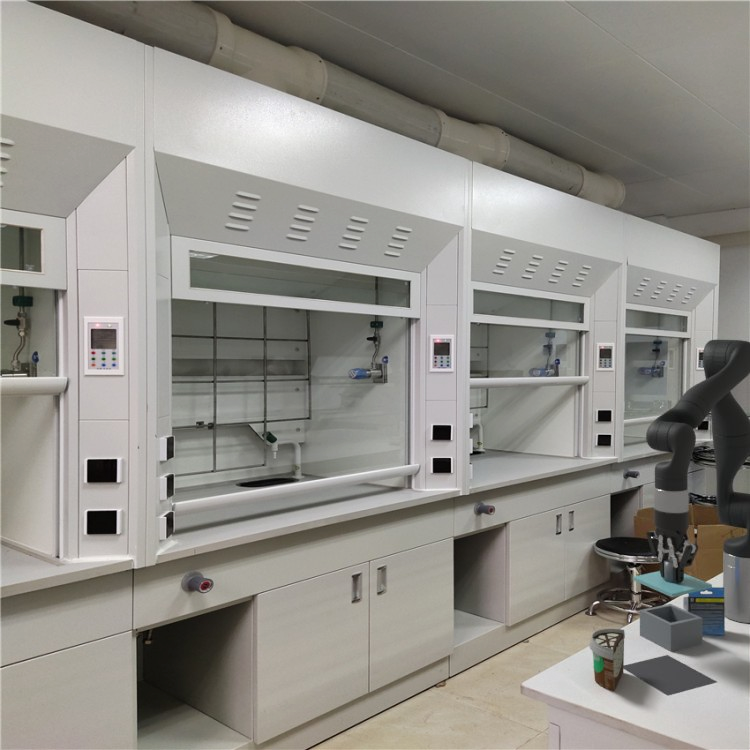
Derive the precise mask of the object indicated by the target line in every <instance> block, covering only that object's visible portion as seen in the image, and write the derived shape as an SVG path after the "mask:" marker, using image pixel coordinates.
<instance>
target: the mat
mask: <svg viewBox="0 0 750 750" xmlns="http://www.w3.org/2000/svg"><path fill="white" fill-rule="evenodd" d="M623 670H625V671H627V672H628V673H629V674H631V675H633V676H635V677H636V678H638V679H640V680H641V681H643V682H644V683H646V684H648V685H649V686H651V687H653V688H654V689H656V690H657V691H660V692H661V693H662V694H664V695H666V696H670V695H671V696H672V695H675V694H680V693H682V692H685V691H690V690H693V689H698V688H701V687H704V686H709V685H712V684H715V683H718V681H717V680H715V679H713V678H711V677H709V676H707V675H705V673H702V672H700V671H698V670H696V669H694V668H692V667H691V666H689V665H687V664H685V663H683V662H682V661H680V660H679V659H678V660H677V659H676V658H674V657H672V656H670V655H668V654H666V655H662V656H658V657H653V658H648V659H646V660H641V661H637V662H632V663H629V664H624V668H623Z"/></svg>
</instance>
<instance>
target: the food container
mask: <svg viewBox="0 0 750 750" xmlns="http://www.w3.org/2000/svg"><path fill="white" fill-rule="evenodd" d="M625 636H626V634H625V629H622V628H621V629H620V628H602V629H599V630H596V631H594V632H593V633H592V634H591V637H590V640H589V645H588V646H589V649H590V650H591V651H592V660H593V661H592V662H593V673H594V675H593V676H594V681H595V683H596V684H597V685H598V686H600V687H601V688H603V689H605V690H607V691H611V692H615V690H616V688H617V686H618V683H619V682H620V679H621V678H622V676H623V674H624V669H623V668H624V665H625V664H624V661H625V660H624V659H625Z"/></svg>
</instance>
